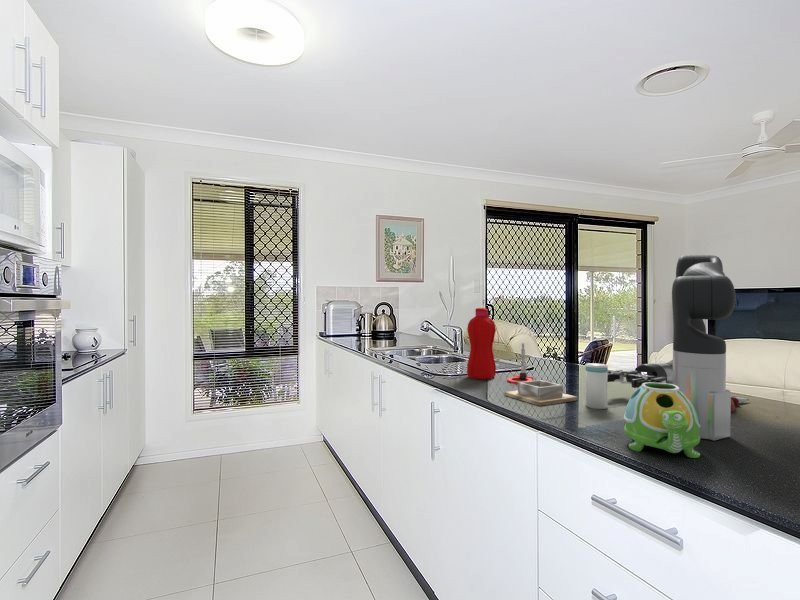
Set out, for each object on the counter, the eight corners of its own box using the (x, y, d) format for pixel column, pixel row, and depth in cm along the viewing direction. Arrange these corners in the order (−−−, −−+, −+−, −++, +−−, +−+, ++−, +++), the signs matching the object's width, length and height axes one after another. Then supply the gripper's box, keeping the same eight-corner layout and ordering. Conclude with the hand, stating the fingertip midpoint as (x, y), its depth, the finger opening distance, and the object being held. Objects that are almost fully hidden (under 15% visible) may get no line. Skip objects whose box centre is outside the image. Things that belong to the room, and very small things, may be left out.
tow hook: (528, 386, 141) (536, 380, 149) (527, 347, 140) (535, 343, 148) (503, 384, 145) (512, 378, 153) (502, 346, 145) (511, 342, 153)
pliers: (767, 407, 115) (767, 397, 115) (723, 416, 106) (723, 405, 106) (720, 398, 125) (720, 389, 125) (676, 406, 116) (676, 396, 116)
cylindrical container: (612, 407, 112) (612, 365, 112) (598, 409, 110) (598, 366, 110) (594, 403, 117) (594, 362, 117) (581, 405, 114) (581, 364, 114)
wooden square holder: (577, 400, 120) (577, 386, 120) (539, 405, 113) (540, 390, 113) (539, 390, 132) (539, 377, 132) (504, 395, 126) (504, 381, 126)
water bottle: (493, 381, 147) (493, 308, 147) (464, 378, 153) (464, 308, 153) (502, 377, 154) (503, 308, 154) (474, 374, 160) (474, 307, 160)
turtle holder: (634, 465, 73) (635, 395, 73) (619, 433, 90) (619, 377, 90) (721, 475, 69) (721, 401, 69) (687, 440, 86) (688, 381, 86)
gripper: (632, 360, 131) (595, 363, 123) (680, 366, 118) (643, 371, 111) (632, 384, 131) (595, 389, 123) (680, 394, 118) (643, 400, 111)
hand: (618, 380), depth 117 cm, fingers open, 8 cm apart
